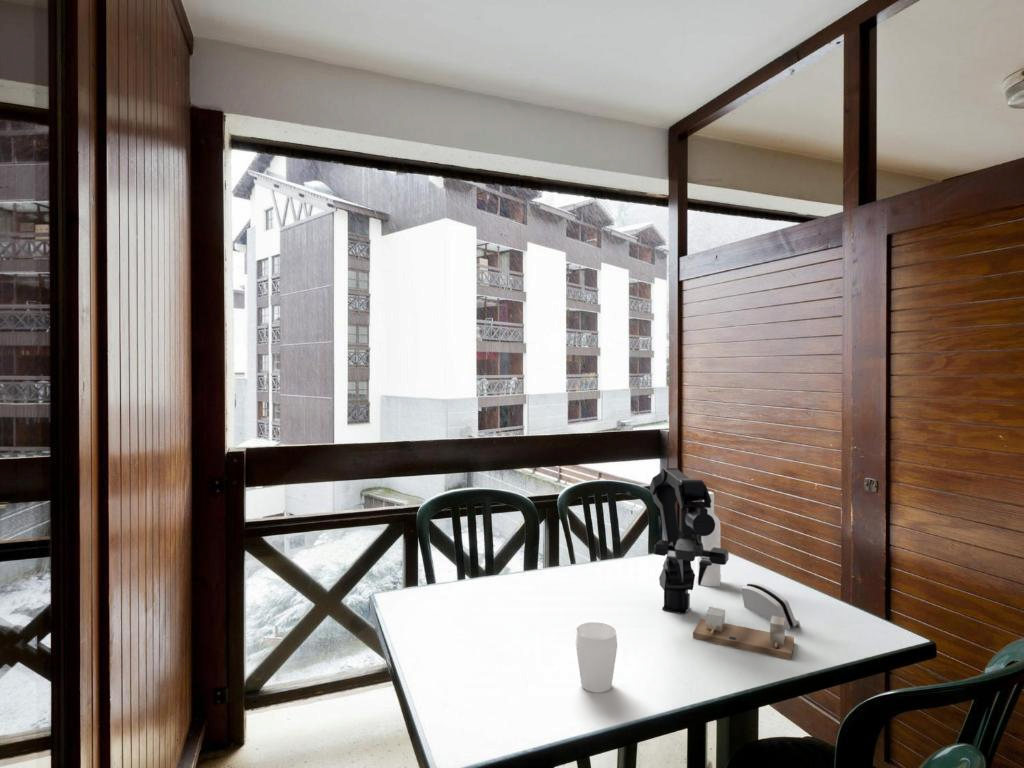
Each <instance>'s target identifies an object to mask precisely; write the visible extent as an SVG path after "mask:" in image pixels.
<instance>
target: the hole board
mask: <svg viewBox="0 0 1024 768" xmlns="http://www.w3.org/2000/svg"><path fill="white" fill-rule="evenodd" d="M692 638H693V639H695V640H699V641H700V640H701V641H704V642H709V643H713V644H714V643H715V644H719V645H724V646H727V647H731V648H737V649H742V650H746V651H750V652H755V653H759V654H764V655H769V656H772V657H777V658H783V659H787V660H792V657H793V652H794V644H795V637H794V636H789V635H786V629H785V618H782V617H777V616H772V618H771V621H769V631H765V630H760V629H755V628H751V627H745V626H740V625H737V624H736V625H735V624H732V623H731V624H730V623H727V622H725V626H724V628H723V630H722V632H720V631H715V630H714V632H713V634H711V630H710V629H706V618H700V619H699V621H698V623H697V624H696V626H695V628H694V630H693V631H692Z"/></svg>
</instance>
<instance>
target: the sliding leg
mask: <svg viewBox="0 0 1024 768" xmlns="http://www.w3.org/2000/svg"><path fill="white" fill-rule="evenodd" d="M705 619H706V629H710V630H711V634H713V632H714V630H715V631H720V632H722V630H723V628H724V626H725V623H726V609H723V608H717V607H714V606H713V607H712V606H709V607H708V608H707V610H706V611H705Z"/></svg>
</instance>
